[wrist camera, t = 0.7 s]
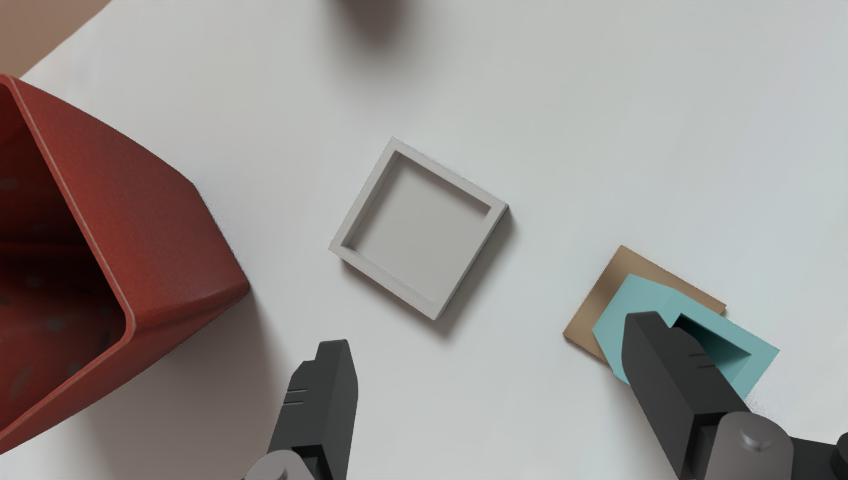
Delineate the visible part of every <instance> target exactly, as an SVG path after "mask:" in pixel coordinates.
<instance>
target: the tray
mask: <svg viewBox="0 0 848 480" xmlns="http://www.w3.org/2000/svg"><path fill="white" fill-rule="evenodd" d="M508 206H509V205H508V204H507V203H505V202H503V201H502V200H500V199H498V198H497V197H495V196H493V195H491V194H490V193H488V192H486V191H485V190H483V189H481V188H480V187H478V186H476V185H475V184H473V183H471V182H469V181H468V180H466V179H464V178H463V177H461V176H459V175H458V174H456V173H454V172H452V171H451V170H449V169H447V168H446V167H444V166H442V165H441V164H439V163H437V162H435V161H434V160H432V159H430V158H429V157H427V156H425V155H424V154H422V153H420V152H418V151H417V150H415V149H413V148H412V147H410V146H408V145H407V144H405V143H403V142H401V141H400V140H398V139H396V138H395V137H393V136H392V137H391V139H390V140H389V142H388V144H387V146H386V147H385V149H384V151H383V153H382V154H381V156H380V158H379V160H378V161H377V163H376V165H375V167H374V168H373V170H372V172H371V174H370V176H369V177H368V179H367V181H366V183H365V184H364V186H363V188H362V190H361V191H360V193H359V195H358V197H357V198H356V200H355V202H354V204H353V205H352V207H351V209H350V211H349V212H348V214H347V216H346V218H345V219H344V221H343V223H342V225H341V226H340V228H339V230H338V232H337V233H336V235H335V237H334V239H333V240H332V242H331V244H330V246H329V247H328V249H329V250H330V251H332V252H333V253H335V254H336V255H338V256H339V257H341V258H342V259H344V260H345V261H347V262H348V263H350V264H351V265H352V266H354V267H355V268H357V269H358V270H360V271H361V272H363V273H364V274H366V275H367V276H369V277H370V278H372V279H373V280H375V281H376V282H378V283H379V284H380V285H382V286H383V287H385V288H386V289H388V290H389V291H391V292H392V293H394V294H395V295H397V296H398V297H400V298H401V299H403V300H404V301H406V302H407V303H408V304H410V305H411V306H413V307H414V308H416V309H417V310H419V311H420V312H422V313H423V314H425V315H426V316H428V317H429V318H431V319H432V320H436V319H437V318H439V317H440V316H441V314H442V313H443V311H444V310H445V308H446V306H447V305H448V303H449V302H450V300H451V298H452V297H453V295H454V293H455V292H456V290H457V289H458V287H459V285H460V284H461V282H462V280H463V279H464V277H465V276H466V274H467V272H468V271H469V269H470V268H471V266H472V264H473V263H474V261H475V259H476V258H477V256H478V255H479V253H480V251H481V250H482V248H483V246H484V245H485V243H486V242H487V240H488V238H489V237H490V235H491V234H492V232H493V230H494V229H495V227H496V225H497V224H498V222H499V221H500V219H501V217H502V216H503V214H504V212H505V211H506V209H507V208H508Z"/></svg>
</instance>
